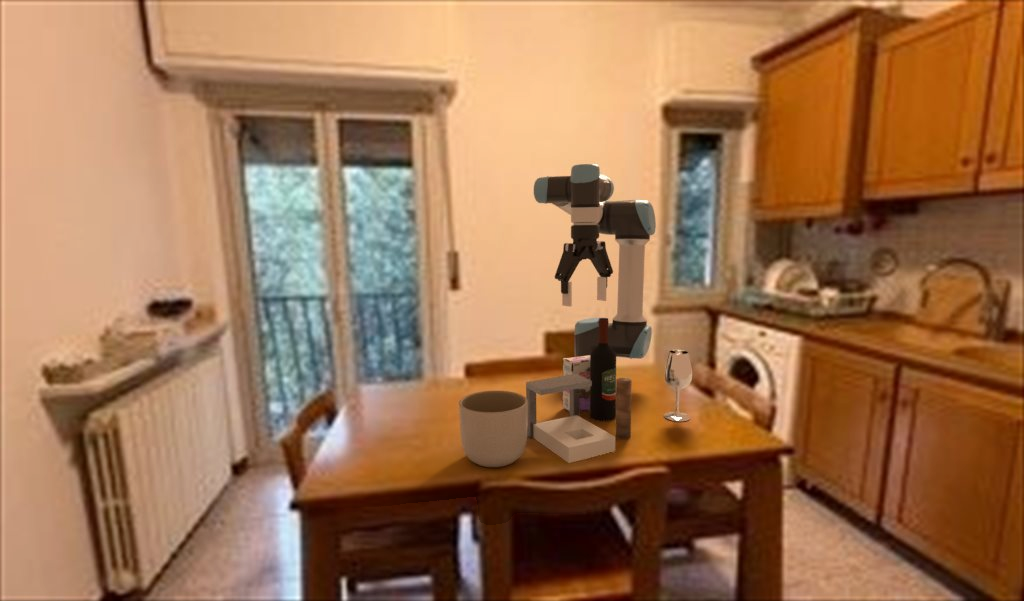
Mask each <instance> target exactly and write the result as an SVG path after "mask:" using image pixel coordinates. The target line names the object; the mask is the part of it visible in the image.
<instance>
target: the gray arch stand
mask: <svg viewBox="0 0 1024 601" xmlns="http://www.w3.org/2000/svg"><path fill="white" fill-rule="evenodd" d="M590 386H592V381H591V380H589V379H587V378H584V377H582V376H580V375H577V374H571V375H565V376H563V375H560V376H555V377H554V376H553V377H548V378H542V379H536V380H530V381H526V382H525V392H526V394H525V397H526V398H527V400H528V426H527V438H529V439H530V440H531V439H534V438H533V424H536V423H538V422H537V395H539V396H545V395H551V394H556V393H563V391H568V390H570V412H569V417H570V416H575V415H577V416H579V417H580V412H579V397H580V388H584V387H590Z"/></svg>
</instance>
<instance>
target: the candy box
mask: <svg viewBox="0 0 1024 601" xmlns="http://www.w3.org/2000/svg"><path fill="white" fill-rule="evenodd" d="M571 374H577V375H580V376H582V377H584V378H587V379H589V380H590V355H588V356H580V357H575V356H574V357H563V358H562V376H565V375H571ZM562 409H564V410H565V411H566V412H568V413H570V390H568V391H562ZM584 412H590V387H584V388H580V397H579V413H584Z"/></svg>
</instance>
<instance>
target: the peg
mask: <svg viewBox="0 0 1024 601" xmlns="http://www.w3.org/2000/svg"><path fill="white" fill-rule="evenodd" d="M631 434H632V379H631V378H628V377H618V378H616V418H615V438H617V439H620V440H629V439H631V438H630V437H631V436H632V435H631Z"/></svg>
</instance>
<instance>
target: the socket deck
mask: <svg viewBox="0 0 1024 601" xmlns="http://www.w3.org/2000/svg"><path fill="white" fill-rule="evenodd" d="M532 439H534V440H536V441H537V442H539V443H540V444H541V445H543V447H545V448H547V449H549V450H550V451H551V452H552V453H554V454H556V455H557V457H560V458H561V459H562V460H563V461H565V462H567V464H571V463H574V462H579V461H584V460H588V459H590V458H591V457H592V458H594V457H595V456H596V457H599V456H598V455H600V456H602V454H604V455H606V454H605V453H608V454H610V453H609V452H612V453H614V452H613V451H615V452H616V435H613V434H611V433H609V432H607V431H606V430H604V429H603V428H601V427H598V426H596V425H595V424H593V423H591V422H589V421H588V420H586V419H584V418H582V417H581V416H580V415H579V416H577V415H575V416H570V415H569V416H565V417H561V418H555V419H551V420H546V421H541V422H537V423H536V424H533V438H532Z"/></svg>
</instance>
